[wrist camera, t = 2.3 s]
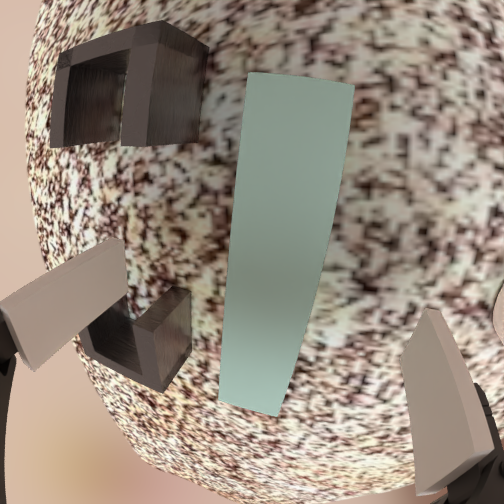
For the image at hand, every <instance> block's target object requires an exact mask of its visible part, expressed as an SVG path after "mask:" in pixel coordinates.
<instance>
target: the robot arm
mask: <svg viewBox="0 0 504 504" xmlns="http://www.w3.org/2000/svg"><path fill="white" fill-rule="evenodd" d="M128 292H129V291H128V282H127V271H126V260H125V245H124V240H121V239H117V238H113V237H112V238H110V239H108V240H106V241H104V242H102V243H100V244H98V245H96V246H94V247H92V248H90V249H89V250H87V251H85V252H83V253H81V254H79V255H77V256H76V257H74V258H72V259H70V260H68V261H66V262H65V263H63V264H61V265H59V266H58V267H56V268H54V269H52V270H51V271H49V272H47V273H45V274H44V275H42V276H40V277H39V278H37V279H35V280H34V281H32V282H30V283H29V284H27V285H26V286H24V287H22V288H21V289H19V290H17V291H16V292H14V293H13V294H11V295H10V296H8V297H6V298H5V299H3V300H2V301H0V504H6V493H5V476H4V475H5V472H4V456H5V434H6V422H7V413H8V406H9V399H10V392H11V387H12V381H13V376H14V371H15V367H16V357H15V355H14V354H15V353H16V352H19V354H20V356H21V359H22V360H23V363H24V364H26V365H27V366H28V367H29V368H30V369H31V370H33V372H35V371H36V370H37V369H38V368H39V367H40V366H41V365H42V364H44V363H45V362H46V361H47V360H48V359H49V358H50V357H51V356H53V354H55V353H56V352H57V351H58V350H59V349H61V348H62V347H63V346H64V345H65V344H66V343H67V342H69V341H70V340H71V339H72V338H73V337H74V336H76V335H77V334H78V333H79V332H80V331H82V330H83V329H84V328H85V327H86V326H87V325H89V324H90V323H91V322H92V321H93V320H95V319H96V318H97V317H98V316H99V315H101V314H102V313H103V312H104V311H106V310H107V309H108V308H109V307H110V306H112V305H113V304H114V303H115V302H117V301H118V300H119V299H120V298H122V297H123V296H124V295H125V294H127V293H128ZM399 360H400V365H401V370H402V375H403V380H404V386H405V391H406V397H407V403H408V410H409V417H410V424H411V432H412V441H413V452H414V465H415V485H416V496H421V495H428V494H435V493H437V492H438V491H440V490H442V489H443V488H445V487H446V486H447V489H448V493H447V494H445V495H444V496H442V497H440V498H439V499H437V500H435V501H433V502H432V503H431V504H504V450H503V447H502V444H501V440H500V437H499V433H498V430H497V427H496V423H495V420H494V417H492V411H491V409H490V407H489V403H488V400H487V398H486V395H485V393H484V392H483V390H482V389H481V388H480V386H479V385H478V384H477V383H473V381H472V378H471V376H470V373H469V371H468V368H467V366H466V364H465V361H464V359H463V357H462V355H461V352H460V350H459V348H458V346H457V344H456V342H455V340H454V337H453V335H452V333H451V331H450V329H449V327H448V325H447V323H446V321H445V319H444V317H443V316H442V314H441V312H440V311H439V310H433V309H428V308H425V309H424V311H423V313H422V316H421V318H420V320H419V322H418V324H417V326H416V328H415V330H414V332H413V334H412V336H411V338H410V340H409V342H408V344H407V346H406V348H405V350H404V352H403V354H402V355H401V357H400V359H399Z"/></svg>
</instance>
